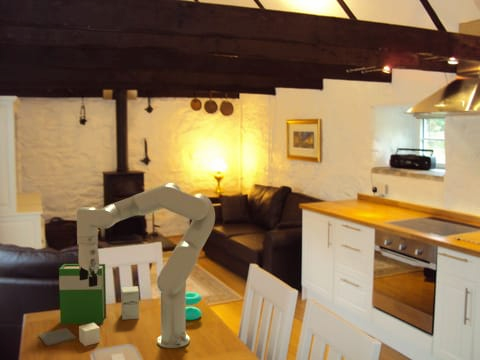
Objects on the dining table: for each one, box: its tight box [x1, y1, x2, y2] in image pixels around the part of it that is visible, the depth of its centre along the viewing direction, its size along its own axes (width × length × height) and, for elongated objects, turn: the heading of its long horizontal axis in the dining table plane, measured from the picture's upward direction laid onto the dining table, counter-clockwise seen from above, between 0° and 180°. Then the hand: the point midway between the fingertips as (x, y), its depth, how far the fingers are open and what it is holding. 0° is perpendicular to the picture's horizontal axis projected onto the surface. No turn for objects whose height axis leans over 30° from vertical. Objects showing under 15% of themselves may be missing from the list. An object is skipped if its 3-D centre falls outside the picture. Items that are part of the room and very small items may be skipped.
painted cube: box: [78, 323, 101, 347], centre depth 196 cm, size 6×6×6 cm
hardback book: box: [58, 263, 107, 325], centre depth 216 cm, size 18×7×24 cm, turn 94°
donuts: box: [185, 291, 202, 321], centre depth 222 cm, size 10×10×10 cm
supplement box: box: [120, 285, 140, 321], centre depth 221 cm, size 7×7×13 cm
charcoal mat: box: [38, 327, 77, 347], centre depth 199 cm, size 11×11×1 cm
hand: (88, 282), depth 194 cm, fingers open, 9 cm apart
